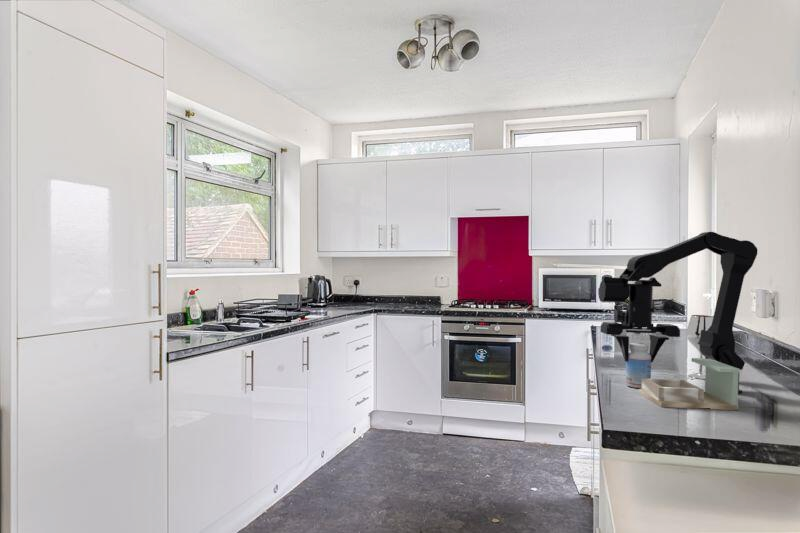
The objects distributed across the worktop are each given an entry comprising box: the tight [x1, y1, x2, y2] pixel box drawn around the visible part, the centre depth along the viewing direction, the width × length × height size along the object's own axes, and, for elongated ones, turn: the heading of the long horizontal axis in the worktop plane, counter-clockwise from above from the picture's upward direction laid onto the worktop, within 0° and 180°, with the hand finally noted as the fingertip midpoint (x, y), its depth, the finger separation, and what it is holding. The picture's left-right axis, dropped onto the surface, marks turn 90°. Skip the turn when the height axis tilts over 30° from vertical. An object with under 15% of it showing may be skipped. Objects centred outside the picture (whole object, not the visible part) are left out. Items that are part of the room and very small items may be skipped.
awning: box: [691, 357, 741, 406], centre depth 127 cm, size 4×13×9 cm, turn 177°
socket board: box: [638, 378, 740, 411], centre depth 127 cm, size 17×13×4 cm
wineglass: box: [685, 314, 714, 380], centre depth 156 cm, size 8×8×18 cm
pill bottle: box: [625, 342, 652, 389], centre depth 141 cm, size 6×6×11 cm
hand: (638, 361), depth 141 cm, fingers closed on pill bottle, 6 cm apart
